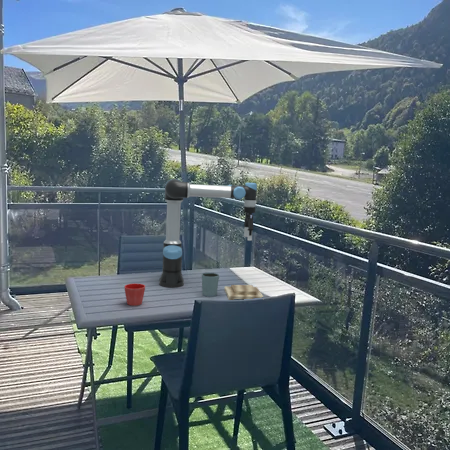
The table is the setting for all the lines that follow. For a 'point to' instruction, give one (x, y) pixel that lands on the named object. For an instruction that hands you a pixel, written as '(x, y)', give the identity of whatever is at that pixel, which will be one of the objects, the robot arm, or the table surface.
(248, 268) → the table surface
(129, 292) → the flower pot
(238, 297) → the stepped square base
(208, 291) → the blue-grey embossed cup
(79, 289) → the table surface
